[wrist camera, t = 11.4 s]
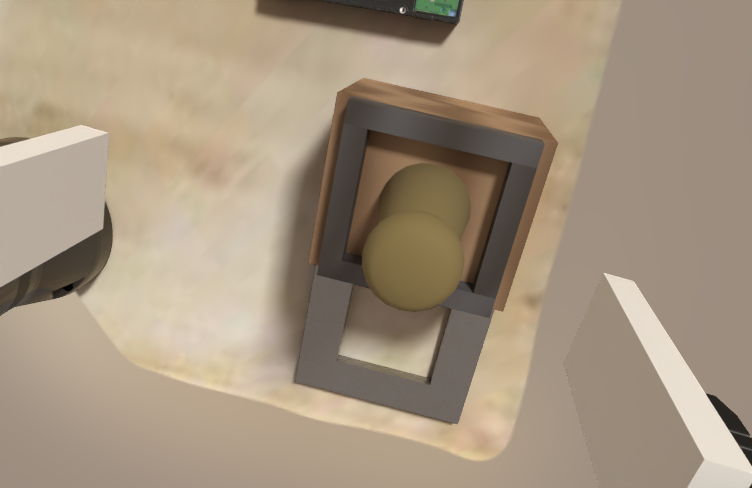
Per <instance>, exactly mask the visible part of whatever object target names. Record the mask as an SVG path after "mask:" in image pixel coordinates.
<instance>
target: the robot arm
mask: <svg viewBox="0 0 752 488" xmlns="http://www.w3.org/2000/svg"><path fill="white" fill-rule="evenodd" d="M108 141H109V133H108V132H104V131H101V130H97V129H94V128H90V127H87V126H83V125H80V126H76V127H72V128H69V129H65V130H61V131H57V132H54V133H50V134H46V135H43V136H39V137H35V138H31V139H30V138H21V137H13V138H5V139H0V316H1V315H2V314H4V313H5V312H7V311H8V310H10V309H11V308H13V307H17V306H21V305H27V304H31V303H36V302H41V301H46V300H51V299H56V298H60V297H63V296H66V295H68V294H70V293H72V292H74V291H76V290H78V289H79V288H81V287H82V286H83V285H85V284H86V283H88V282H89V281H91V280H92V279H93V278H95V277H96V276H97V275H98V274H99V273H100V271H101V270H102V269H103V267H104V266H105V264H106V262H107V260H108V257H109V254H110V251H111V246H112V223H111V218H110V214H109V210H108V207H107V205H106V202H105V189H106V173H107V157H108ZM564 366H565V370H566V373H567V377H568V380H569V384H570V387H571V391H572V395H573V398H574V402H575V405H576V409H577V412H578V416H579V419H580V423H581V426H582V430H583V434H584V437H585V441H586V444H587V448H588V451H589V455H590V458H591V462H592V465H593V469H594V473H595V476H596V480H597V484H598V487H599V488H752V438H750V437H749V435H750V434H749V432H748V431H747V430H746V428H745V427H744V425H743V424H742V422H741V421H740V419H739V418H738V416H737V415H736V414H735V413H734V412H732V411H731V410H730V409H729V408H728V407H727V406H726V405H725V404H724V403H723V402H721V401H720V400H719V399H718V398H717V397H716V396H713V395H710V394H706V393H705V392H704V391H703V389H702V388H701V386H700V384H699V383H698V381H697V380H696V378H695V377H694V375H693V373H692V372H691V370H690V369H689V367H688V366H687V364H686V362H685V361H684V359H683V358H682V356H681V355H680V353H679V352H678V350H677V348H676V347H675V345H674V344H673V342H672V341H671V339H670V337H669V336H668V334H667V333H666V331H665V330H664V328H663V326H662V325H661V323H660V322H659V320H658V319H657V317H656V316H655V314H654V312H653V311H652V309H651V308H650V306H649V305H648V303H647V301H646V300H645V298H644V297H643V295H642V294H641V292H640V290H639V289H638V287H637V286H636V284H635V283H634V281H631V280H627V279H624V278H620V277H617V276H613V275H610V274H606V273H603V275H602V277H601V280H600V282H599V284H598V287H597V289H596V291H595V293H594V295H593V298H592V300H591V302H590V305H589V307H588V309H587V311H586V313H585V316H584V318H583V320H582V322H581V325H580V327H579V329H578V331H577V334H576V336H575V338H574V340H573V343H572V345H571V347H570V350H569V352H568V354H567V356H566V359H565V361H564Z"/></svg>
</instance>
